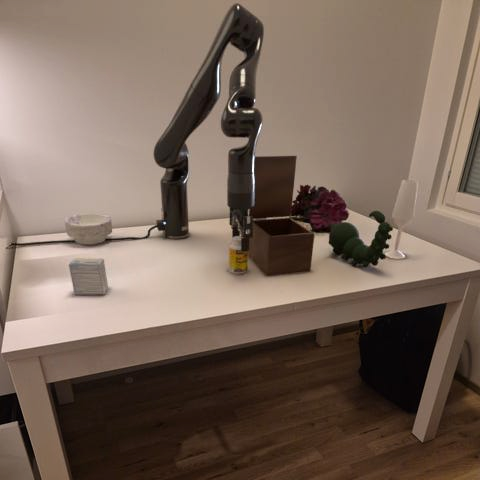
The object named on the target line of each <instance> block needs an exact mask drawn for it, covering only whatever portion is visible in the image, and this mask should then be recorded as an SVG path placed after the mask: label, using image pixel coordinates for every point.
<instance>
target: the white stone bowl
mask: <svg viewBox="0 0 480 480" xmlns="http://www.w3.org/2000/svg"><path fill="white" fill-rule="evenodd" d="M64 226H65V230H66V231H65V232H66V235H67V236H68V237H70V238H72V239H73V240H75V241H76V242H75V243H77V244H80V245H85V246H92V245H99V244H101V243H103V242H106V241H105V239H108V236H109V235H111V234H112V233H113V223H112V218H111V217H110V216H109V215H106V214H102V213H79V214H75V215H70V216H68V217H66V218H65V220H64Z"/></svg>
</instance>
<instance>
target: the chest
mask: <svg viewBox="0 0 480 480" xmlns="http://www.w3.org/2000/svg"><path fill="white" fill-rule="evenodd" d="M314 242H315V232H313V231H312V230H310V229H309V228H307V227H306V226H304V225H303V224H302V223H299V221H295V220H293V219H292V218H289V217H275V218H266V219H261V220H253V238H249V251H248V258H250V260H252V262H253V263H254V264H255V265H256V267H258V269H260V270H261V271H262V272H263V273H264V275H266V277H269V276H277V275H278V276H279V275H290V274H299V273H306V272H308V273H309V272H311V269H312V261H313V250H314Z"/></svg>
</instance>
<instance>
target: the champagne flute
mask: <svg viewBox="0 0 480 480" xmlns="http://www.w3.org/2000/svg"><path fill="white" fill-rule="evenodd" d="M418 187H419V181H418V180H413V179H403V180H401V183H400V187H399V190H398V193H397V196H396V200H395V204H394V207H393V210H392V214H391V219H392V221H393V222H394V224H395V225H396V226H397V227H398V229H397V233H396V237H395V243H394V247H393V248H394V249H392V250H389V251H386V252H385V253H384V254H385V255H386V258H390V259H395V260H401V259H402V260H403V259H404V258H406V255H405V254H403V252H401V251H400V250H399V246H400V241H401V238H402V237H401V236H402V232H403V228H404V227H406V226H408V225H409V224H411V222H413V220H414V218H415V214H416V213H415V212H416V204H417V202H416V201H417V196H418Z"/></svg>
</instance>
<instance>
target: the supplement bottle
mask: <svg viewBox="0 0 480 480" xmlns="http://www.w3.org/2000/svg"><path fill="white" fill-rule="evenodd" d="M228 252H229V253H228V254H229V258H228V259H229V260H228V270H229V272H230V273H232V274H235V275H242V274H245V273H247V272H248V268H249V267H248V266H249V256H248V251H242V250H241V235H240V236H235V237H233V238H232V237H231V243H230V244H229V250H228Z"/></svg>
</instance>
